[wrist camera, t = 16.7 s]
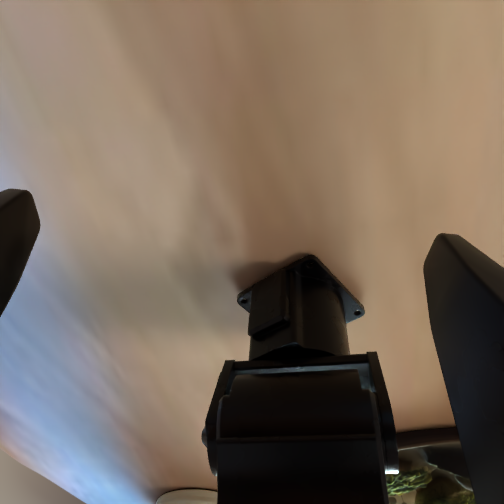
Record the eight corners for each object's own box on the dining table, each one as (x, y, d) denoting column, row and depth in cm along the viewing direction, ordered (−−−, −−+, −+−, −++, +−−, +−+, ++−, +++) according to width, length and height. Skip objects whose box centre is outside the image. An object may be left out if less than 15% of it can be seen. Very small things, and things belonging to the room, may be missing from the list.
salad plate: (532, 501, 48) (551, 549, 44) (372, 511, 53) (378, 555, 49) (542, 415, 37) (569, 470, 33) (337, 437, 41) (342, 487, 38)
